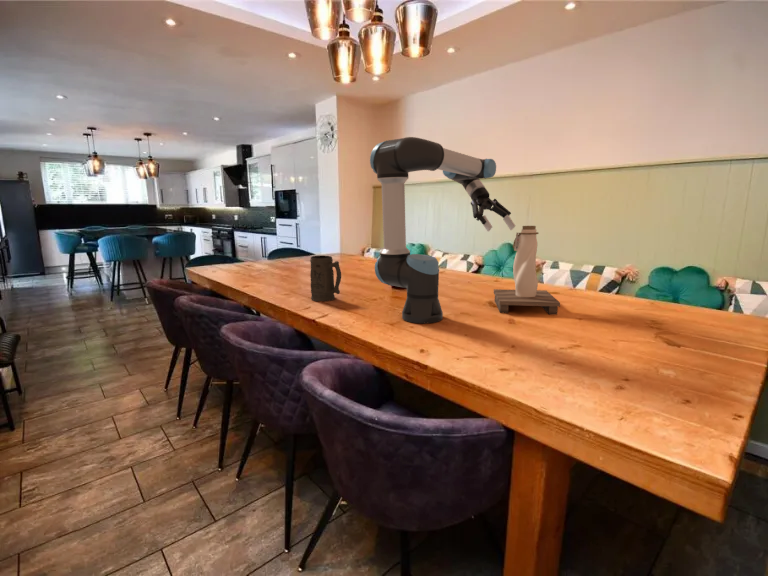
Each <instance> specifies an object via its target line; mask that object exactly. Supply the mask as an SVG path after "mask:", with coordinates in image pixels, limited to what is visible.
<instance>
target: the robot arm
mask: <svg viewBox="0 0 768 576" xmlns="http://www.w3.org/2000/svg"><path fill="white" fill-rule="evenodd" d="M370 152H371V153H370V156H369V164H370V168H371V169H372V171H373V172H374V173H375V174H376V176H377V177H376V178H377V181H378V182H379V183H380V184H381V205H382V209H381V210H382V231H383V237H382V238H383V248H382V249H381V251H380V252H379V257H377V259H376V261H375V263H374V274H375V277H376V279H377V280H378V281H379V282H380V283H383V284H385V285H387V286H390V287H391V286H392V287H393V286H395V287H400V288H404V289H406V300H405V302H404V305H403V309H402V312H401V319H402V320H404V321H406V322H409V323H414V324H433V323H437V322H441V321H443V317H444V316H443V315H444V314H443V309H442V306H441V303H440V299H439V285H440V284H439V278H440V268H439V266H440V265H439V260H438V259H437V258H436V257H434V256H432V255H428V254H419V253H412V254H411V250H409V249H408V248H407V238H406V237H407V236H406V230H407V229H406V198H405V196H406V192H405V189H406V188H405V183H406V182H407V180H409V173H412V172H418V171H419V172H420V171H431V172H434V171H438V170H440V171H442V174H443V175H444V177H446V178H447V179H449V180H452V181H454V182H456V183H458V184H460V185H461V186H462V187H463V189H465V191H466V193H467V194H468V196H469V197H470V198H471V201H470V205H471V209H472V216H473V219H476V221H478V222H479V221H480V222H481V223H480V224H482V225H483V227H484V228H485V230H486V232H490V231H491V230H492V228H493V224H491V222H490V221H489V219H488V218H487V215H484V211H485V210H488V211H490V212H494V213H495V214H496V215H499V216H500V217H502V218H503V221H504V223H505V224H506V225H507V228H508V229H509V230H510V231H512V230H514V229H515V227H516V224H515V223H514V222H513V220H512V218H511V217H510V215H511V214H512V213H511V211H509V210H508V209H507V208H506V207H505V206H504V205H503V204H502V203H501V202H499V201H498V200H497V198H494V199H493V200H492V199H491V198H490V193H489V191H488V190H487V188H486V187H485V185H484V183H483V182H482V181H481V179H490V178H493V177H494V176H495V175H496V172H497V163H496V161H495V160H494V159H493V158H484V159H483V158H479V157H474V156H471V155H469V154H465V153H461V152H458V151H455V150H452V149H448V148H444V147H443V145H442V144H440V143H438V142H435V141H432V140H427V139H424V138H420V137H416V136H415V137H414V136H406V137H403V138H396V139H388V140H383V141H382V142H379V143H377V144H376V145H375V146H374V147H373V148H372V150H371V151H370Z"/></svg>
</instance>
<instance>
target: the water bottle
mask: <svg viewBox="0 0 768 576" xmlns="http://www.w3.org/2000/svg"><path fill="white" fill-rule="evenodd" d="M536 227H537V226H536V225H522V228H521V231H520V232H516V235H515V239H514V240H513V245H512V248H513V251H514V252H515V251H516V252H515V256H514V260H513V268H512V272H513V281H514V285H515V286H514V287H515V289H514V290H516V296H520V297H535V296H536V292H537V290H538V286H539V285H538V283H539V282H538V276H537V267H536V266H537V260H536V259H537V251H538V240H537V235H539V232H538V231H537V229H536Z"/></svg>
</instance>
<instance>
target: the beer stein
mask: <svg viewBox="0 0 768 576" xmlns="http://www.w3.org/2000/svg"><path fill="white" fill-rule="evenodd" d="M309 262H310V294H311V297H310V300H311V301H313V302H318V301H324V302H329V300H330V301H333V300H335V298H336V297H335V295H340V294H341V293H340V292H341V291H340V289H339V287H340V284H341V281H342V280H341V279H342V271H341V267H340V262H339V261H334V262H333V257H332V256H331V255H330V256H329V255H313V256H310V260H309ZM333 268H335V272H336V279H335V277H334V269H333Z"/></svg>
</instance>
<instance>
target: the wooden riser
mask: <svg viewBox="0 0 768 576" xmlns="http://www.w3.org/2000/svg"><path fill="white" fill-rule="evenodd" d="M493 295H494V302H495V306H496V307H497V309H498V311H499V313H500V314H509V306H525V307H526V306H528V307H529V306H530V307H531V306H532V307H535V306H536V307H541V308H542V309H543V310H544V311H545V312H546V314H547V315H550V316H552V315H553V316H554V315H556V316H557V315H558V307H561V302H560V301H559V300H558V299H557V298H556V297H555V296H553V295H552V294H551V292H549V291H548V290H546V289H545V290H543V289H542V290H541V289H537V292H536V296H535V297H520V296H516V290H515V289H500V288H499V289H498V288H497V289H496V288H494V289H493Z"/></svg>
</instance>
